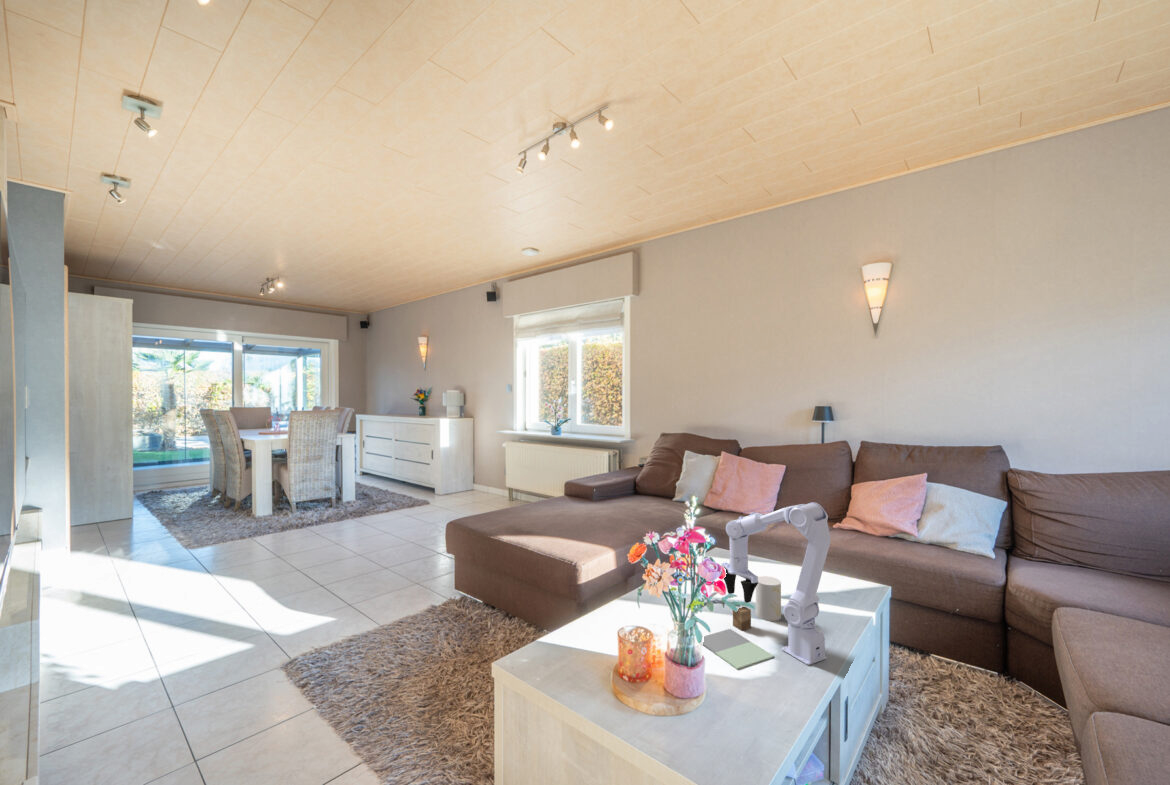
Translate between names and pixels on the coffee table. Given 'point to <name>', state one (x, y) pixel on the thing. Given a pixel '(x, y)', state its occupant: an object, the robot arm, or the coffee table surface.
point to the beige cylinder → (768, 598)
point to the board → (735, 649)
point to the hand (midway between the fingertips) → (739, 597)
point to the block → (742, 618)
